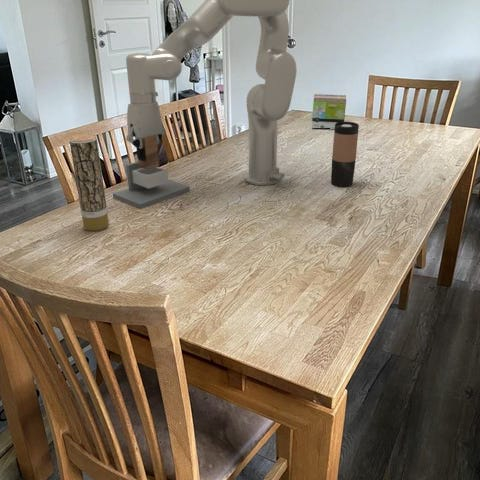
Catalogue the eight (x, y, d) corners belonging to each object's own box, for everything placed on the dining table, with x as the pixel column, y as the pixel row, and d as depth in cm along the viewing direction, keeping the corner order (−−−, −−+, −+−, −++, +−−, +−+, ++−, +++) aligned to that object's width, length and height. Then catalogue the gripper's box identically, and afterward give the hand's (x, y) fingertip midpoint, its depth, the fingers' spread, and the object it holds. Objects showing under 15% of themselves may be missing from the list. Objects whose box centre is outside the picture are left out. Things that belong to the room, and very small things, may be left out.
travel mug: (355, 181, 168) (361, 122, 159) (350, 188, 161) (356, 128, 152) (333, 178, 170) (338, 120, 162) (327, 185, 164) (331, 125, 155)
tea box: (311, 129, 233) (313, 97, 227) (312, 124, 242) (313, 93, 236) (343, 130, 231) (346, 98, 225) (343, 125, 240) (345, 94, 233)
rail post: (159, 166, 155) (156, 134, 150) (147, 169, 152) (144, 137, 147) (150, 163, 158) (147, 132, 153) (138, 166, 155) (135, 135, 150)
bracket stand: (189, 190, 161) (187, 161, 157) (140, 208, 148) (137, 177, 143) (161, 181, 170) (159, 153, 165) (113, 197, 156) (109, 167, 152)
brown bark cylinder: (102, 232, 133) (89, 141, 122) (79, 231, 134) (63, 140, 123) (113, 222, 139) (101, 134, 128) (90, 220, 140) (77, 133, 129)
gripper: (157, 92, 153) (161, 150, 161) (111, 100, 142) (118, 162, 150) (173, 95, 149) (177, 154, 157) (127, 104, 137) (133, 167, 146)
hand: (148, 157), depth 153 cm, fingers closed on rail post, 4 cm apart
